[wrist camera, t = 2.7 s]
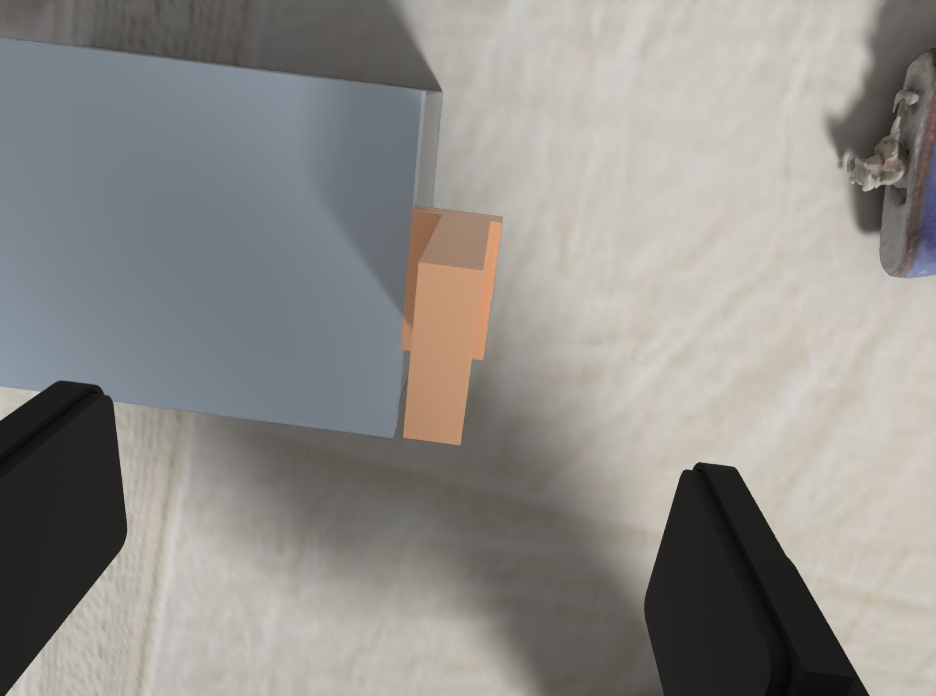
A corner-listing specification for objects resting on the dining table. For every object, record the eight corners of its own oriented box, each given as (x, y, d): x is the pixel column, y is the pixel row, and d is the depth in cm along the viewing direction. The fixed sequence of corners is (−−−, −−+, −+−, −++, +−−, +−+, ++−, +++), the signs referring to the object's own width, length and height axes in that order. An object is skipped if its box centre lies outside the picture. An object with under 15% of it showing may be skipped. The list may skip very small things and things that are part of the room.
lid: (517, 102, 22) (521, 113, 15) (473, 428, 27) (459, 554, 20) (-59, 28, 22) (-327, 6, 15) (-1, 365, 27) (-183, 467, 20)
